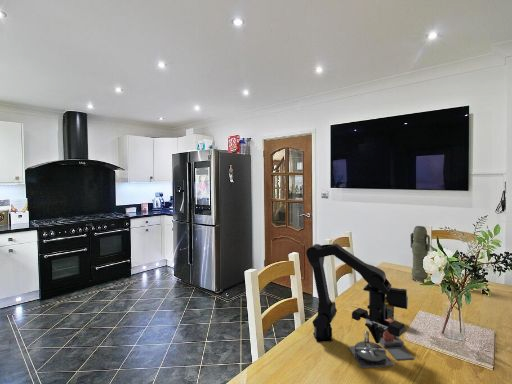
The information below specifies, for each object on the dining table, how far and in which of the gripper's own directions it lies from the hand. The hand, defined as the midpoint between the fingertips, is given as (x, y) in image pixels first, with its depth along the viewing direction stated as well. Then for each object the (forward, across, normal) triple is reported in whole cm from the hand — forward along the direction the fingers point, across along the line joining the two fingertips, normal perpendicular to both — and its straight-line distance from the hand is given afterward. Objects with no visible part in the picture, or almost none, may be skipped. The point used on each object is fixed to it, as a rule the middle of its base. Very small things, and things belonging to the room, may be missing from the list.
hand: (377, 342), depth 108 cm
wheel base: (+4, +1, +4) cm, 6 cm away
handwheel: (+3, +1, +4) cm, 5 cm away
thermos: (+4, +20, -94) cm, 96 cm away
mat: (+4, -6, -6) cm, 9 cm away
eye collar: (+4, +1, -11) cm, 12 cm away
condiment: (+4, +11, -28) cm, 30 cm away
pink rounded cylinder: (+4, +1, -11) cm, 12 cm away
